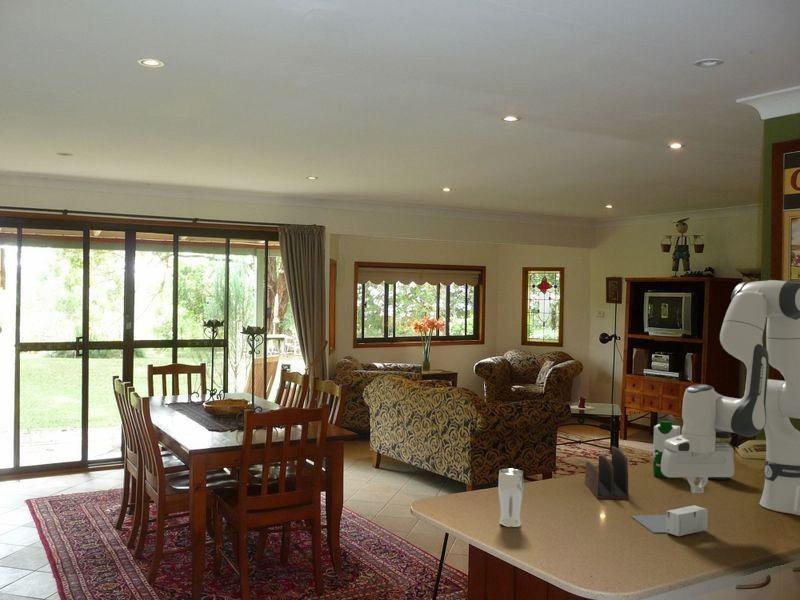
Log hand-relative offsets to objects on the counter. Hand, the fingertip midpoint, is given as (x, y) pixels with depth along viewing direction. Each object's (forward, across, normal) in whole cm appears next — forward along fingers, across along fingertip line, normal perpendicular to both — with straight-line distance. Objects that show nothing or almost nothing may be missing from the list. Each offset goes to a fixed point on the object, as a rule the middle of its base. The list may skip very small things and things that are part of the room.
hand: (697, 492), depth 207 cm
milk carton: (+10, -19, -57) cm, 61 cm away
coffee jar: (+10, -36, -54) cm, 66 cm away
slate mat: (+10, +7, -3) cm, 12 cm away
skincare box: (+6, 0, +1) cm, 6 cm away
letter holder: (+10, +11, -38) cm, 41 cm away
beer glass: (+10, +52, -5) cm, 53 cm away
